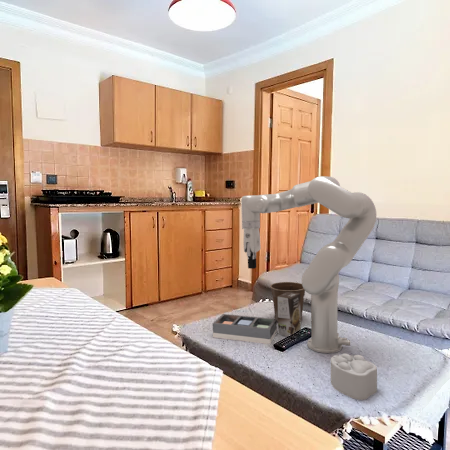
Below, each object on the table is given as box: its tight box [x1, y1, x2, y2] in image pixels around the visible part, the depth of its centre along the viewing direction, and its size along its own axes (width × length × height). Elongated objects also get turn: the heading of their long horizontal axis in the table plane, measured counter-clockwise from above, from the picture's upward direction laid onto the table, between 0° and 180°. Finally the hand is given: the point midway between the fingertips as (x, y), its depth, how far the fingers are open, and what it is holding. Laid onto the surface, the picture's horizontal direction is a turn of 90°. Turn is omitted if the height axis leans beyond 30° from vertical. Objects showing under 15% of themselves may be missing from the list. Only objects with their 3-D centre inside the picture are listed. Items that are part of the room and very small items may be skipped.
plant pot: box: [269, 281, 306, 323], centre depth 161 cm, size 16×16×16 cm
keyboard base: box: [212, 328, 278, 345], centre depth 146 cm, size 24×12×2 cm, turn 69°
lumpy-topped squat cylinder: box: [330, 353, 378, 401], centre depth 104 cm, size 10×13×9 cm
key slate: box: [237, 320, 252, 326], centre depth 145 cm, size 5×5×2 cm
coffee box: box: [277, 292, 302, 337], centre depth 147 cm, size 9×6×16 cm
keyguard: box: [212, 313, 278, 339], centre depth 146 cm, size 24×12×4 cm, turn 69°
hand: (252, 268), depth 148 cm, fingers closed
